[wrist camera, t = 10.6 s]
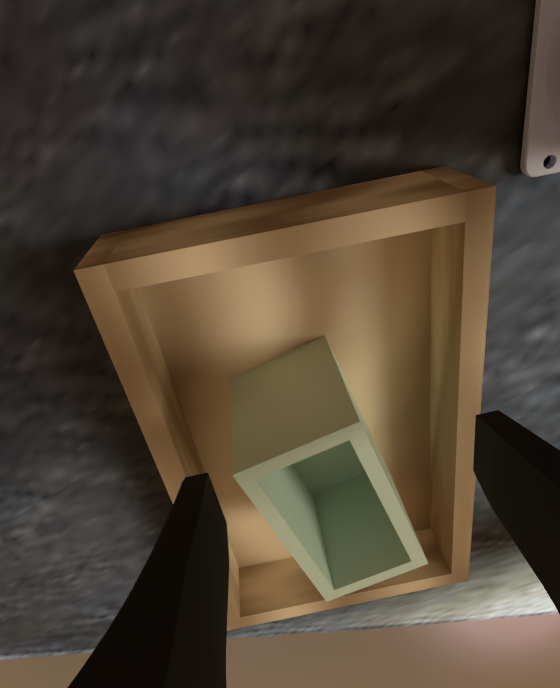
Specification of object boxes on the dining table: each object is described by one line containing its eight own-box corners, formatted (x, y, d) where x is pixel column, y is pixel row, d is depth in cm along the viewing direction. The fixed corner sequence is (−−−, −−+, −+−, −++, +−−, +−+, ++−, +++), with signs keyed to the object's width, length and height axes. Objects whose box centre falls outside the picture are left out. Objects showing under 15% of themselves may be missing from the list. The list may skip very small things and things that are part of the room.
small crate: (325, 335, 21) (359, 421, 15) (385, 463, 25) (428, 563, 20) (229, 378, 21) (232, 475, 16) (305, 496, 26) (326, 601, 20)
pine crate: (445, 166, 18) (496, 185, 15) (439, 522, 30) (468, 580, 26) (101, 234, 18) (73, 270, 15) (226, 566, 29) (226, 630, 26)
